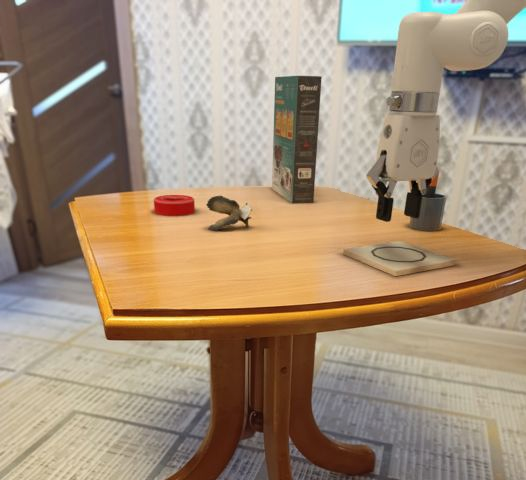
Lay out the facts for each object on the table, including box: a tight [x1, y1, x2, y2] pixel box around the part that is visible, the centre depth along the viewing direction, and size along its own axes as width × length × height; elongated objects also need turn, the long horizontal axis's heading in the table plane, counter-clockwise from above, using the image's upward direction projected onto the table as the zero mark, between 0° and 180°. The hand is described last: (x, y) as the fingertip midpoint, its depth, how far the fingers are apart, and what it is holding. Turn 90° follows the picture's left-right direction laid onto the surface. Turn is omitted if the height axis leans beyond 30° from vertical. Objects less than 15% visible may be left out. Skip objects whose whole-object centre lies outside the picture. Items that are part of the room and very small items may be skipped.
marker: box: [425, 171, 440, 198], centre depth 111 cm, size 2×2×12 cm
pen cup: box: [408, 192, 447, 232], centre depth 113 cm, size 7×7×7 cm
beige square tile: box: [342, 240, 457, 277], centre depth 91 cm, size 14×14×1 cm
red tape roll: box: [153, 194, 196, 217], centre depth 123 cm, size 10×10×3 cm
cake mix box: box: [271, 75, 323, 204], centre depth 139 cm, size 22×6×30 cm, turn 13°
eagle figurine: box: [206, 195, 253, 231], centre depth 109 cm, size 8×7×9 cm
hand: (397, 217), depth 90 cm, fingers open, 5 cm apart
